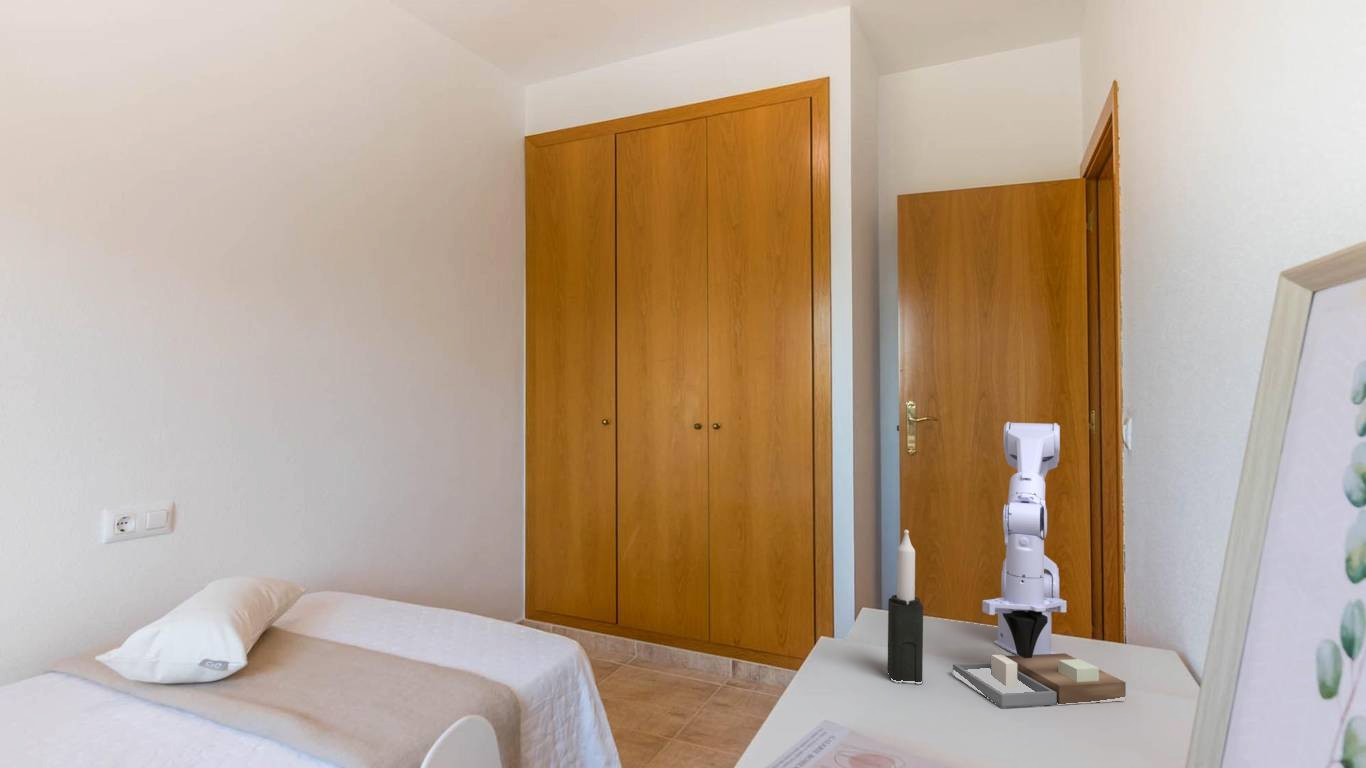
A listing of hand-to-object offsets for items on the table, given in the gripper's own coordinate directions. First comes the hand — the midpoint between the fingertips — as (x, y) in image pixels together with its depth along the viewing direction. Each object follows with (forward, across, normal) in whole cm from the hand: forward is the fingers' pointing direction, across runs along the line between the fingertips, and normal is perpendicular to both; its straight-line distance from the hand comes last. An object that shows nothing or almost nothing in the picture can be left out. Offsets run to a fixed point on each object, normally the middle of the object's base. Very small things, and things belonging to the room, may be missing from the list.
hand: (1024, 656), depth 113 cm
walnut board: (+5, +6, -2) cm, 8 cm away
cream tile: (+2, -3, 0) cm, 4 cm away
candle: (+5, -19, +5) cm, 20 cm away
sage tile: (+2, +6, -5) cm, 8 cm away
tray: (+5, -5, -2) cm, 7 cm away
